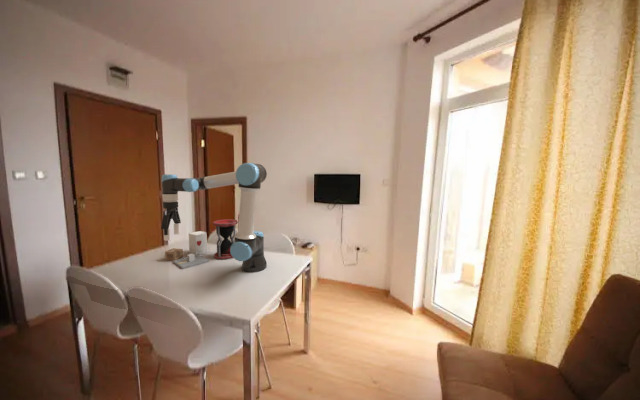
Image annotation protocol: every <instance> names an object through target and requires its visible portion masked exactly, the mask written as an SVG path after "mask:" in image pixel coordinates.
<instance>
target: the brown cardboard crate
mask: <svg viewBox="0 0 640 400" xmlns="http://www.w3.org/2000/svg"><path fill="white" fill-rule="evenodd" d="M164 254H165V255H164V256H165V257H164V258H165V261H171V262H173V261H174V260H178V259H183V258H184V252H183V248H171V249H168V250H165V251H164Z"/></svg>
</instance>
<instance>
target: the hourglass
mask: <svg viewBox="0 0 640 400" xmlns="http://www.w3.org/2000/svg"><path fill="white" fill-rule="evenodd" d="M237 224H239V221H238V220H237V219H234V218H233V219H218V220H214V221H213V222H212V225H213V226H215V230H216V236H217V239H218V240H217V242H216V252H215V253H214V254H213V256H214V259H216V260H231V259H234V257H232V255H231V252H230V248H231V246H232V244H233V243H234V239H235V235H236V225H237ZM222 238H223V240H222Z"/></svg>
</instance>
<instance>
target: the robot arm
mask: <svg viewBox="0 0 640 400" xmlns="http://www.w3.org/2000/svg"><path fill="white" fill-rule="evenodd" d="M267 175H268V173H267V169H266V168H265V166H264V165H262V164H260V163H253V162H244V163H242V164H240V165H239V166H238V167H237V169H236V171H232V172H231V171H230V172H226V173H220V174H213V175H209V176H203V177H196V178H195V177H192V178H190V177H189V178H183V177H181V178H179V177H178V175H177V174H168V173H167V174H166V173H165V174H162V175H161V188H162V189H161V190H162V191H161V192H162V195H161V197H162V208H163V209H165V210H164V211H162V213H163V215H162V216H163V217H162V221H161V228H160V229H161V230H163V241H166V242H167V241H171V238H170V237H171V236H170V234H171V233H170V231H171V230H170V224H171V220H172V221H173V235H180V224H181V217H180V213H179V194H178V193H179V192H184V193H185V192H187V193H194V192H196V191H205V190H208V189H214V188H221V187H226V186H232V185H238V186H237V187H238V188H239V190H240V199H239V201H240V202H239V210H238V211H239V214H238V223H237V224H238V227H237V233H235V236H234V243H233V244H232V246H231V248H230V252H231V255H232V257H234V258H233V259H235V260H236V261H237V262H242V264H241V270H242V271H244V272H248V273H255V272H256V273H257V272H260V271H261V272H262V271H263V270H265V269H267V268H268V267H267V266H268V264H267V260H266V257H265V252H264V251H265V247H264V246H265V245H264V243H265V240H264V239H265V236H264V233H263V231H260V230H255V223H256V222H255V221H256V213H257V212H256V209H257V198H258V197H257V196H258V192H259V190H261V185H262V183H263V182H264V181H266V179H267Z"/></svg>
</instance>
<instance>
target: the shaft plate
mask: <svg viewBox="0 0 640 400" xmlns="http://www.w3.org/2000/svg"><path fill="white" fill-rule="evenodd" d="M172 262H173V264H175V265H176V266H177V267H179V268H181V269H182V270H184V269H187V268H191V267H195V266H199V265H203V264H206V263H209V262H210V260H209V259H207V258H206V257H203V256H202V255H201V254H198V255H194V254H191V253H188V254H187V256H186V257H183V258H181V259H178V260H174V261H172Z"/></svg>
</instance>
